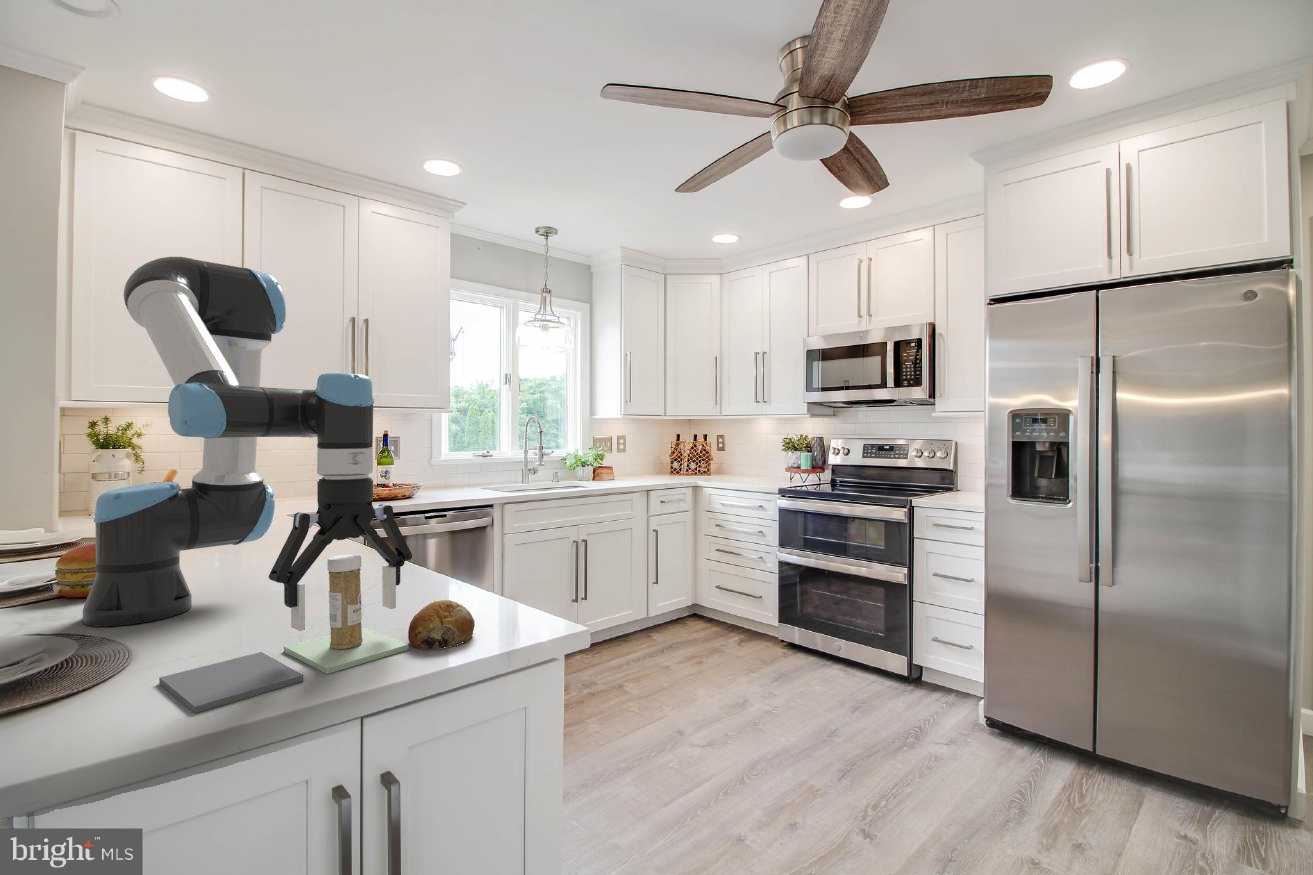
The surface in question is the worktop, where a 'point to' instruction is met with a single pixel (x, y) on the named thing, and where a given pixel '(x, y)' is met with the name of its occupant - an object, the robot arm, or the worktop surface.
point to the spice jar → (345, 601)
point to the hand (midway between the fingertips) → (346, 617)
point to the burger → (76, 572)
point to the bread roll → (441, 625)
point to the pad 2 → (344, 651)
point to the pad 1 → (229, 681)
